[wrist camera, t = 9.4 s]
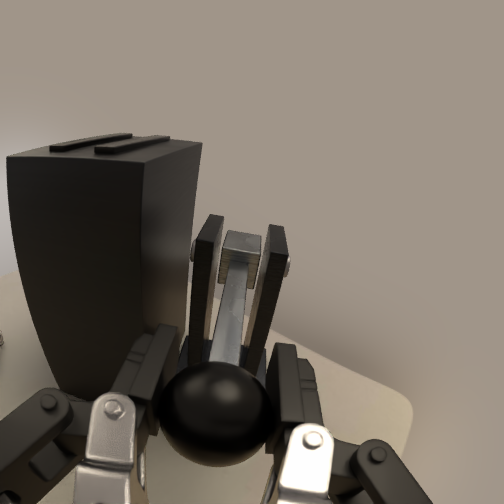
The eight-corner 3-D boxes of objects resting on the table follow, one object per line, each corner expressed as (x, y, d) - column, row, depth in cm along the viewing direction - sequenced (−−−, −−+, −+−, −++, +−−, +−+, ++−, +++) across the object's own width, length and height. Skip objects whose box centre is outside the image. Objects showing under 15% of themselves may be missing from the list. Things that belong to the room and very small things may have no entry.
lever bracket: (262, 441, 19) (325, 286, 13) (161, 424, 19) (150, 256, 12) (263, 356, 28) (300, 217, 22) (185, 343, 28) (196, 199, 22)
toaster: (155, 423, 19) (145, 153, 11) (60, 390, 18) (5, 150, 10) (185, 330, 30) (203, 138, 21) (109, 312, 29) (105, 131, 21)
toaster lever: (259, 485, 7) (288, 445, 6) (152, 468, 7) (137, 421, 6) (263, 276, 20) (273, 228, 18) (212, 267, 20) (218, 218, 18)
